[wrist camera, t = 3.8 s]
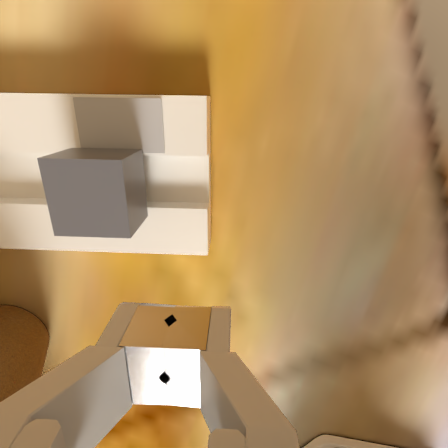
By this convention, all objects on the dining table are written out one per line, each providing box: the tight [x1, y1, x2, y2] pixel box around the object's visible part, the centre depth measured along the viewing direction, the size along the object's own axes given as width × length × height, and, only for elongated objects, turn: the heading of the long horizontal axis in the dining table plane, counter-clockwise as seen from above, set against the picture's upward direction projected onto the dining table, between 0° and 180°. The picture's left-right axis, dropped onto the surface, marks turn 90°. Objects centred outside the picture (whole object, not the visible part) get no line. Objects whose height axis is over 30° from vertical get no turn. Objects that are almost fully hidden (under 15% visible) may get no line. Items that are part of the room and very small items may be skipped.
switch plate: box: [0, 93, 211, 255], centre depth 24 cm, size 28×12×3 cm, turn 89°
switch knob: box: [37, 148, 148, 238], centre depth 21 cm, size 5×5×6 cm
